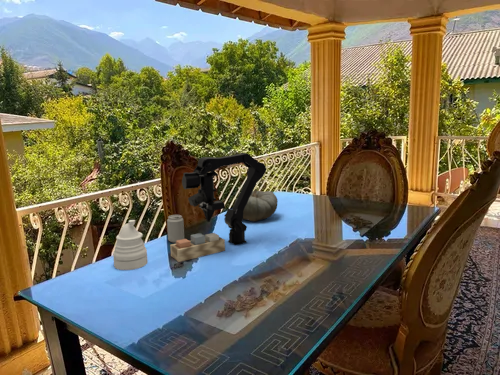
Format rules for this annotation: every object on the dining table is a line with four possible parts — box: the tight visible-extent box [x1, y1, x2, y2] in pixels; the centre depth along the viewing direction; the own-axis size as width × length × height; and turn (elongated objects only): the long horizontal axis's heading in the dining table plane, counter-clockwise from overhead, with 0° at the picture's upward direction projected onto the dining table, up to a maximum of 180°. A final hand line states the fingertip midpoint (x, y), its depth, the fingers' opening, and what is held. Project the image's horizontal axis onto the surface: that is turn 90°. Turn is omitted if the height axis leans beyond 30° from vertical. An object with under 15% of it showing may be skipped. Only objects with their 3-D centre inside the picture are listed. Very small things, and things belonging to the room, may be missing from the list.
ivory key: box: [204, 232, 220, 242], centre depth 165 cm, size 4×4×5 cm
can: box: [166, 214, 185, 244], centre depth 178 cm, size 8×8×12 cm
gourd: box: [233, 187, 279, 222], centre depth 213 cm, size 25×25×17 cm
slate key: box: [190, 232, 205, 245], centre depth 161 cm, size 4×4×5 cm
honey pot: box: [112, 219, 149, 271], centre depth 151 cm, size 13×13×18 cm
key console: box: [169, 236, 226, 263], centre depth 162 cm, size 22×8×5 cm, turn 124°
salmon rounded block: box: [175, 238, 190, 249], centre depth 158 cm, size 4×4×5 cm
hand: (208, 221), depth 167 cm, fingers closed
